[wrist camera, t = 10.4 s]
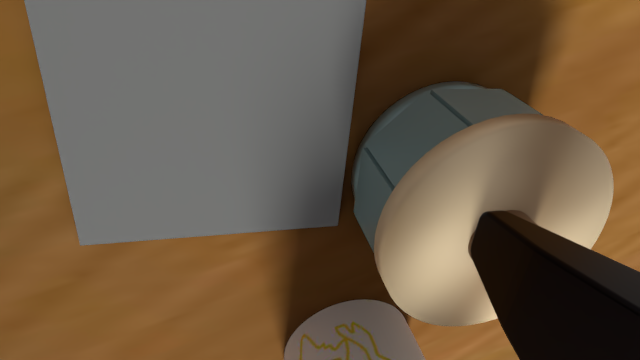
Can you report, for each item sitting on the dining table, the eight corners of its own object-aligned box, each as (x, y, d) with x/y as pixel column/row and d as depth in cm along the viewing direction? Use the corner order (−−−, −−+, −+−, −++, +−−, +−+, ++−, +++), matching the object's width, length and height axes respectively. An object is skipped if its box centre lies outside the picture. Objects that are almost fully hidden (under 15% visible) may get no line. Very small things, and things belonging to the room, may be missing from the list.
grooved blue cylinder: (341, 243, 25) (372, 313, 21) (363, 81, 20) (408, 130, 16) (490, 230, 27) (544, 291, 23) (540, 81, 23) (618, 124, 19)
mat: (82, 240, 21) (80, 245, 21) (16, -53, 15) (12, -52, 15) (335, 221, 24) (337, 225, 24) (366, -32, 18) (370, -30, 18)
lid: (360, 322, 21) (397, 415, 17) (394, 117, 16) (456, 187, 12) (550, 296, 23) (618, 373, 20) (633, 110, 18) (746, 167, 15)
